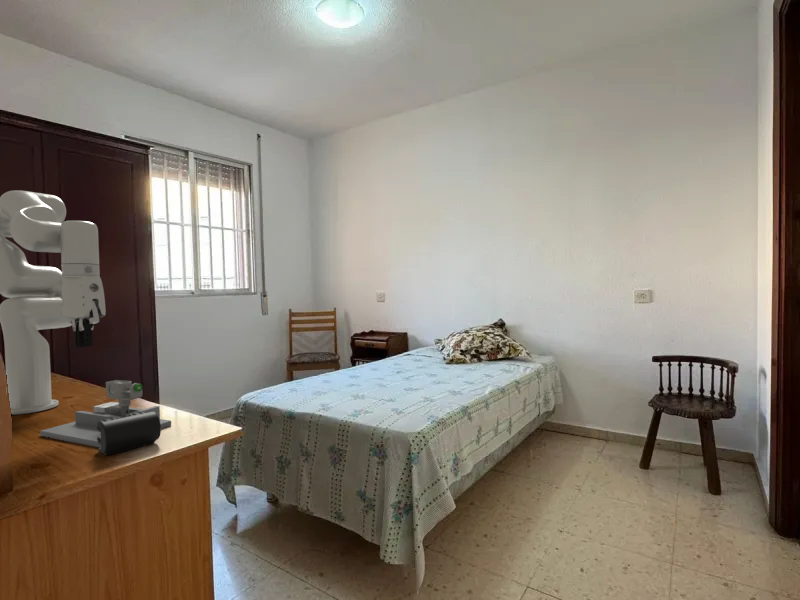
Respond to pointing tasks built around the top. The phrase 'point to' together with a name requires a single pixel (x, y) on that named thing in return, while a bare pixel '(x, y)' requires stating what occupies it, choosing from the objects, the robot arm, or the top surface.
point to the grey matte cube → (108, 409)
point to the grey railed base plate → (91, 426)
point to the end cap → (128, 432)
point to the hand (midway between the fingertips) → (83, 346)
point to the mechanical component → (124, 393)
